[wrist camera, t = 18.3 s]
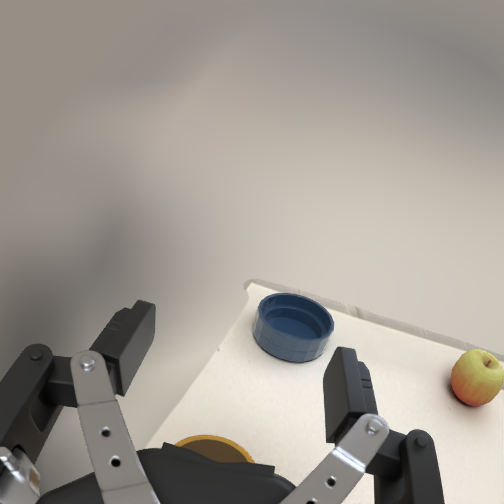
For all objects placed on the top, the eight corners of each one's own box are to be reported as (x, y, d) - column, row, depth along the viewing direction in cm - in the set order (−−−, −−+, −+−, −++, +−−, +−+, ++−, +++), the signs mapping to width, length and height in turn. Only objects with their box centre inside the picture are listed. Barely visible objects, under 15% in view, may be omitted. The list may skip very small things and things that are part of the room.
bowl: (254, 361, 42) (262, 337, 40) (250, 311, 52) (255, 288, 50) (332, 366, 43) (343, 343, 41) (315, 318, 53) (323, 297, 51)
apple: (444, 407, 37) (473, 370, 34) (441, 368, 45) (464, 332, 42) (488, 419, 34) (518, 384, 31) (481, 381, 43) (505, 348, 39)
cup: (163, 537, 17) (157, 508, 13) (167, 482, 23) (166, 428, 18) (233, 542, 18) (262, 515, 13) (231, 488, 24) (255, 437, 19)
